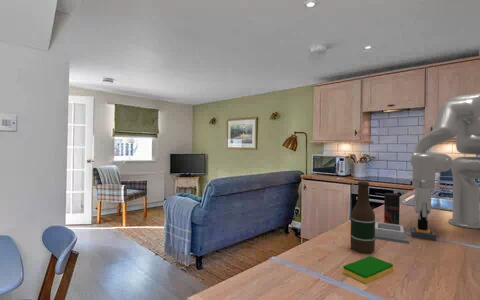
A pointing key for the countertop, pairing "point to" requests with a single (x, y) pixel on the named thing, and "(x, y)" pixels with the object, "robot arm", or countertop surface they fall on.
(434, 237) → the button housing
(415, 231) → the button
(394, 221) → the deodorant
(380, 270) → the dish sponge
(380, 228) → the grey rectangular tray
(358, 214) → the beer bottle
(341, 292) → the countertop surface
